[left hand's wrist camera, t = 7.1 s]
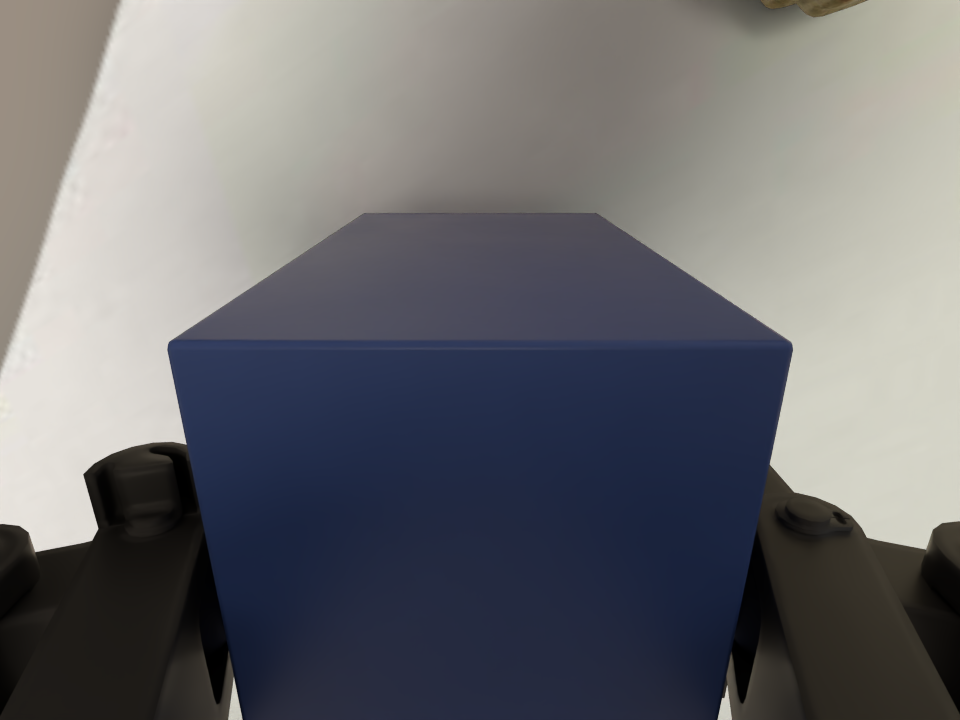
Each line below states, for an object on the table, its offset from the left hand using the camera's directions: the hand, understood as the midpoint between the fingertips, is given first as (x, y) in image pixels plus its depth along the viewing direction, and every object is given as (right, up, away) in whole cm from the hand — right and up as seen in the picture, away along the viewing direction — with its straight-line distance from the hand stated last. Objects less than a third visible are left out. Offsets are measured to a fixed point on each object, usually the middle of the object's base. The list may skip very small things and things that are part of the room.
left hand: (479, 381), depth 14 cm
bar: (0, -12, +5) cm, 13 cm away
